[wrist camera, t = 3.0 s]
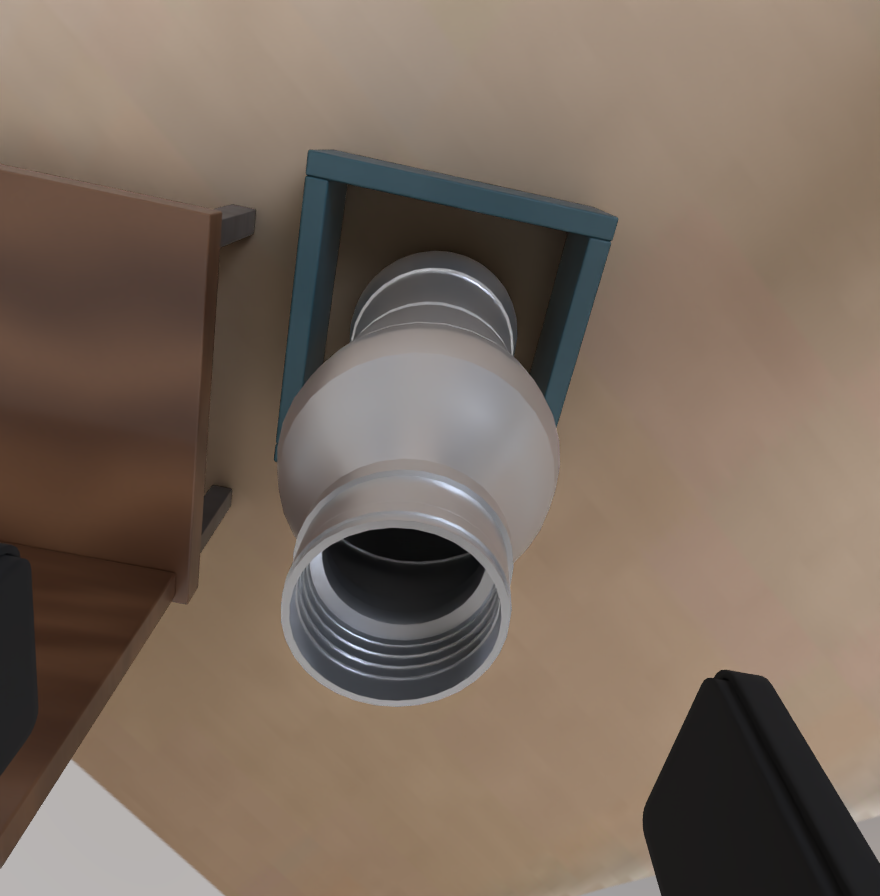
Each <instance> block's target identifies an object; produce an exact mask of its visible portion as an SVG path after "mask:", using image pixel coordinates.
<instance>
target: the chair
mask: <svg viewBox="0 0 880 896" xmlns="http://www.w3.org/2000/svg"><path fill="white" fill-rule="evenodd" d="M255 215H256V210H255V209H253V208H248V207H243V206H239V205H234V204H232V205H227V206H223V207H219V208H215V209H210V208H205V207H200V206H196V205H191V204H186V203H182V202H177V201H172V200H168V199H163V198H158V197H153V196H149V195H144V194H139V193H135V192H130V191H125V190H121V189H116V188H111V187H107V186H102V185H97V184H92V183H88V182H83V181H78V180H74V179H69V178H64V177H60V176H55V175H50V174H45V173H41V172H36V171H31V170H27V169H22V168H17V167H13V166H8V165H3V164H0V543H4V544H10V545H13V546H15V547H17V549H18V550H19V552H20V557H21V558H25V559H27V560H28V561H29V562H30V565H31V573H32V593H33V612H34V631H35V650H36V669H37V688H38V715H37V720H36V723H35V725H34V728H33V730H32V732H31V734H30V736H29V737H28V739H27V740H26V742H25V743H24V744H23V746H22V747H21V748H20V750H19V751H18V753H17V754H16V755H15V757H14V758H13V759H12V761H11V762H10V764H9V765H8V766H7V768H6V769H5V771H4V772H3V773H2V775H1V776H0V869H1V868H2V866H3V865H4V863H5V861H6V860H7V858H8V857H9V855H10V854H11V852H12V850H13V849H14V847H15V846H16V844H17V843H18V841H19V839H20V838H21V836H22V835H23V833H24V832H25V830H26V829H27V827H28V825H29V824H30V822H31V821H32V819H33V818H34V816H35V815H36V813H37V811H38V810H39V808H40V806H41V805H42V804H43V802H44V800H45V799H46V797H47V796H48V794H49V793H50V791H51V789H52V788H53V786H54V784H55V783H56V782H57V780H58V779H59V777H60V775H61V774H62V772H63V770H64V769H65V767H66V766H67V764H68V763H69V761H70V760H71V758H72V757H73V755H74V753H75V752H76V750H77V749H78V747H79V746H80V744H81V742H82V741H83V739H84V738H85V736H86V735H87V733H88V732H89V730H90V728H91V727H92V725H93V724H94V722H95V721H96V719H97V717H98V716H99V714H100V713H101V711H102V710H103V708H104V706H105V705H106V703H107V702H108V700H109V699H110V697H111V696H112V694H113V692H114V691H115V689H116V688H117V686H118V685H119V683H120V681H121V680H122V678H123V677H124V675H125V674H126V672H127V670H128V669H129V667H130V666H131V664H132V663H133V661H134V659H135V658H136V656H137V655H138V653H139V652H140V650H141V649H142V647H143V645H144V644H145V642H146V641H147V639H148V638H149V636H150V634H151V633H152V631H153V630H154V628H155V627H156V625H157V623H158V622H159V620H160V619H161V617H162V616H163V614H164V613H165V611H166V609H167V608H168V606H169V605H170V603H171V602H176V603H181V604H188V603H189V601H190V600H191V598H192V596H193V595H194V593H195V591H196V590H197V588H198V579H199V564H200V553H201V552H202V550H203V549H204V547H205V546H206V544H207V542H208V541H209V539H210V538H211V536H212V535H213V533H214V532H215V530H216V528H217V527H218V525H219V524H220V522H221V521H222V519H223V518H224V516H225V514H226V513H227V511H228V510H229V508H230V507H231V499H232V489H230V488H224V487H219V486H214V485H212V486H211V488H210V489H209V490H208V492H207V493H206V494H205V496H204V487H205V472H206V456H207V441H208V425H209V410H210V395H211V379H212V364H213V349H214V333H215V318H216V303H217V287H218V272H219V257H220V248H221V247H223V246H226V245H228V244H230V243H233V242H235V241H238V240H240V239H243V238H245V237H248V236H250V235H252V234H254V227H255Z"/></svg>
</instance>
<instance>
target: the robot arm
mask: <svg viewBox="0 0 880 896" xmlns="http://www.w3.org/2000/svg"><path fill="white" fill-rule="evenodd" d="M37 715H38V688H37V669H36V650H35V631H34V612H33V593H32V573H31V565H30V562H29V561H28V560H27V559H25V558H21V557H20V552H19V550H18V549H17V547H15V546H13V545H10V544H4V543H0V776H1V775H2V773H3V772H4V771H5V769H6V768H7V766H8V765H9V764H10V762H11V761H12V759H13V758H14V757H15V755H16V754H17V753H18V751H19V750H20V748H21V747H22V746H23V744H24V743H25V742H26V740H27V739H28V737H29V736H30V734H31V732H32V730H33V728H34V725H35V723H36V720H37ZM643 831H644V836H645V839H646V843H647V846H648V850H649V854H650V857H651V861H652V864H653V868H654V871H655V875H656V878H657V882H658V885H659V889H660V892H661V896H880V863H879V862H878V860H877V859H876V857H875V855H874V853H873V852H872V850H871V848H870V847H869V845H868V843H867V842H866V840H865V838H864V837H863V835H862V833H861V832H860V830H859V829H858V827H857V825H856V823H855V822H854V820H853V818H852V817H851V815H850V813H849V812H848V810H847V808H846V807H845V805H844V803H843V802H842V800H841V799H840V797H839V795H838V794H837V792H836V790H835V789H834V787H833V785H832V784H831V782H830V780H829V779H828V777H827V775H826V774H825V772H824V770H823V769H822V767H821V765H820V764H819V762H818V760H817V759H816V757H815V755H814V754H813V752H812V750H811V749H810V747H809V746H808V744H807V742H806V741H805V739H804V737H803V736H802V734H801V732H800V731H799V729H798V727H797V726H796V724H795V722H794V721H793V719H792V717H791V716H790V714H789V712H788V711H787V709H786V707H785V706H784V704H783V702H782V701H781V699H780V697H779V696H778V694H777V693H776V691H775V689H774V688H773V686H772V684H771V683H770V682H769V681H768V679H766V678H764V677H763V676H759V675H753V674H747V673H741V672H736V671H730V670H721V671H719V672H718V673H717V674H716V675H715V677H714V678H707V679H706V680H704V682H703V683H702V685H701V687H700V689H699V691H698V693H697V695H696V697H695V700H694V702H693V704H692V706H691V708H690V710H689V712H688V715H687V717H686V719H685V721H684V723H683V725H682V727H681V730H680V732H679V734H678V736H677V738H676V740H675V742H674V744H673V747H672V749H671V751H670V753H669V755H668V757H667V759H666V762H665V764H664V766H663V768H662V770H661V772H660V774H659V777H658V779H657V781H656V783H655V785H654V787H653V789H652V792H651V794H650V796H649V798H648V800H647V802H646V805H645V807H644V812H643Z"/></svg>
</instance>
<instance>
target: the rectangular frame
mask: <svg viewBox="0 0 880 896" xmlns="http://www.w3.org/2000/svg"><path fill="white" fill-rule="evenodd" d="M306 175H308V176H306V177H305V184H304V193H303V202H302V211H301V220H300V229H299V238H298V247H297V256H296V265H295V274H294V283H293V292H292V301H291V310H290V319H289V328H288V337H287V346H286V355H285V364H284V373H283V382H282V391H281V400H280V409H279V418H278V427H277V436H276V443H277V444H276V445H275V454H274V461H275V462H277V447H278V442H279V438H280V433H281V429H282V424H283V421H284V419H285V417H286V414H287V412H288V410H289V408H290V406H291V404H292V401H293V399H294V398H295V396H296V395H297V394H298V392H299V391H300V390H301V388H302V387H303V386H304V384H305V383H306V382H307V380H308V379H309V378H310V376H311V375H312V374H313V373H314V372H315V371H316V370H317V369H318V368H319V367H320V366H321V365H322V364H323V361H324V354H325V347H326V339H327V332H328V324H329V317H330V310H331V302H332V295H333V288H334V280H335V273H336V266H337V258H338V251H339V244H340V236H341V229H342V221H343V214H344V207H345V199H346V192H347V185H348V184H349V185H354V186H358V187H363V188H368V189H372V190H377V191H381V192H386V193H391V194H395V195H400V196H404V197H409V198H414V199H418V200H423V201H427V202H432V203H437V204H441V205H446V206H450V207H455V208H460V209H464V210H469V211H473V212H478V213H483V214H487V215H492V216H496V217H501V218H506V219H510V220H515V221H519V222H524V223H529V224H533V225H538V226H542V227H547V228H552V229H556V230H561V231H565V232H568V234H567V238H566V242H565V245H564V249H563V253H562V256H561V260H560V264H559V268H558V271H557V275H556V279H555V282H554V286H553V290H552V294H551V297H550V301H549V305H548V308H547V312H546V316H545V319H544V323H543V327H542V331H541V334H540V338H539V342H538V345H537V349H536V353H535V357H534V360H533V364H532V368H531V371H530V376H531V377H532V378H533V379H534V381H535V383H536V384H537V386H538V387H539V389H540V390H541V392H542V394H543V396H544V398H545V400H546V402H547V404H548V406H549V408H550V410H551V412H552V414H553V417H554V421H555V425H556V428H557V424H558V421H559V418H560V414H561V411H562V408H563V404H564V401H565V397H566V394H567V391H568V387H569V384H570V381H571V377H572V374H573V371H574V367H575V364H576V360H577V357H578V354H579V350H580V347H581V344H582V340H583V337H584V334H585V330H586V327H587V323H588V320H589V317H590V313H591V310H592V307H593V303H594V300H595V297H596V293H597V290H598V286H599V283H600V280H601V276H602V273H603V270H604V266H605V263H606V260H607V256H608V253H609V249H610V246H611V242H610V241H612V239H613V236H614V233H615V229H616V226H617V223H618V218H617V217H616V216H613V215H611V214H609V213H606V212H604V211H602V210H599V209H597V208H595V207H591V206H587V205H582V204H578V203H573V202H569V201H564V200H560V199H555V198H551V197H546V196H541V195H537V194H532V193H528V192H523V191H519V190H514V189H510V188H505V187H501V186H496V185H491V184H487V183H482V182H478V181H473V180H469V179H464V178H460V177H455V176H451V175H446V174H442V173H437V172H432V171H428V170H423V169H419V168H414V167H410V166H405V165H401V164H396V163H392V162H387V161H382V160H378V159H373V158H369V157H364V156H360V155H355V154H351V153H346V152H342V151H337V150H309V151H308V156H307V165H306Z"/></svg>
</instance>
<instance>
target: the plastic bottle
mask: <svg viewBox="0 0 880 896" xmlns="http://www.w3.org/2000/svg"><path fill="white" fill-rule="evenodd" d="M516 341H517V318H516V314H515V310H514V306H513V303H512V301H511V299H510V297H509V295H508V293H507V291H506V289H505V287H504V286H503V284H502V283H501V282H500V281H499V279H498V278H497V277H496V276H495V275H494V274H493V273H492V272H491V271H490V270H488V269H487V268H486V267H485V266H483V265H482V264H481V263H479V262H477V261H475V260H473V259H471V258H469V257H467V256H464V255H460V254H456V253H453V252H446V251H427V252H420V253H415V254H412V255H409V256H406V257H403V258H401V259H399V260H397V261H395V262H394V263H392V264H390V265H388V266H387V267H385V268H384V269H383V270H382V271H381V272H379V273H378V274H377V275H376V276H375V277H374V278H373V279H372V280H371V281H370V283H369V284H368V285H367V287H366V288H365V289H364V291H363V292H362V294H361V296H360V298H359V300H358V302H357V304H356V306H355V309H354V313H353V317H352V321H351V328H350V343H349V344H347V345H346V346H344V347H342V348H340V349H339V350H338V351H337V352H336V353H335V354H333V355H332V356H331V357H330V358H329V359H328V360H327V361H325V362H324V363H323V364H322V365H321V366H320V367H319V368H318V369H317V370H316V371H315V372H314V373H313V374H312V375H311V376H310V378H309V379H308V380H307V382H306V383H305V384H304V386H303V387H302V388H301V390H300V391H299V392H298V394H297V395H296V396H295V398H294V399H293V401H292V404H291V406H290V408H289V410H288V412H287V414H286V417H285V419H284V421H283V424H282V429H281V433H280V438H279V442H278V447H277V475H278V487H279V493H280V498H281V503H282V507H283V512H284V515H285V517H286V519H287V521H288V524H289V526H290V528H291V530H292V532H293V535H294V536H295V537H296V539H297V541H296V545H295V549H294V553H293V563H292V565H291V568H290V570H289V572H288V574H287V577H286V581H285V585H284V589H283V593H282V602H281V623H282V627H283V632H284V636H285V640H286V642H287V644H288V646H289V648H290V650H291V652H292V654H293V656H294V657H295V658H296V660H297V661H298V662H299V663H300V665H301V666H302V667H303V668H304V670H305V671H306V672H307V673H309V674H310V675H311V676H312V677H313V678H314V679H316V680H317V681H318V682H319V683H320V684H322V685H324V686H325V687H327V688H329V689H330V690H332V691H334V692H336V693H337V694H340V695H342V696H345V697H348V698H350V699H353V700H355V701H359V702H363V703H368V704H373V705H378V706H394V707H401V706H412V705H420V704H425V703H429V702H433V701H437V700H440V699H443V698H445V697H447V696H450V695H452V694H454V693H457V692H459V691H460V690H462V689H463V688H465V687H467V686H468V685H470V684H471V683H473V682H474V681H476V680H477V679H478V678H479V677H480V676H481V675H482V674H483V673H484V672H485V671H486V670H487V669H488V668H489V667H490V666H491V664H492V663H493V662H494V660H495V659H496V657H497V656H498V655H499V653H500V651H501V649H502V646H503V644H504V642H505V639H506V637H507V633H508V628H509V622H510V616H511V610H512V607H511V592H510V584H511V579H512V573H513V563H514V562H515V561H516V560H517V559H518V558H519V557H520V556H521V555H522V554H523V553H524V552H525V551H526V550H527V549H528V547H529V546H530V544H531V543H532V541H533V540H534V538H535V537H536V536H537V534H538V533H539V531H540V530H541V527H542V525H543V522H544V520H545V518H546V515H547V513H548V511H549V508H550V505H551V502H552V499H553V496H554V493H555V490H556V485H557V479H558V474H559V469H560V445H559V437H558V433H557V429H556V425H555V421H554V417H553V414H552V412H551V410H550V408H549V406H548V404H547V402H546V400H545V398H544V396H543V394H542V392H541V390H540V389H539V387H538V386H537V384H536V383H535V381H534V379H533V378H532V377H531V376H530V375H529V373H528V372H527V371H526V370H525V368H524V367H523V366H522V365H521V364H520V362H519V361H518V360H517V359H515V358H514V354H515V348H516Z"/></svg>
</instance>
